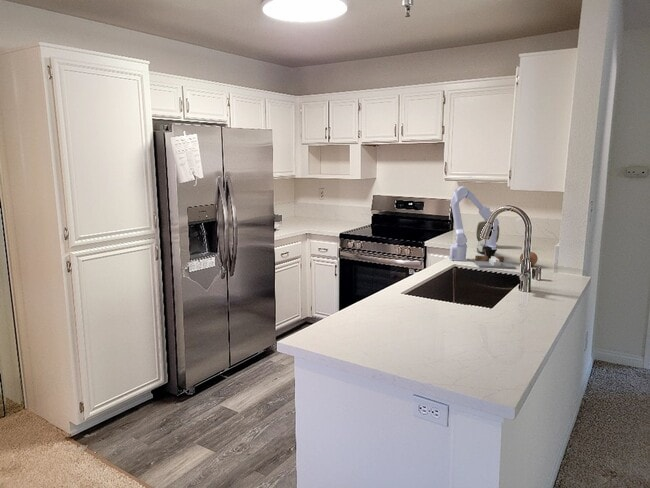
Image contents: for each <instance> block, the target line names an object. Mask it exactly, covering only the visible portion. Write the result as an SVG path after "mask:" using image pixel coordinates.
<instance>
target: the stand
mask: <svg viewBox="0 0 650 488" xmlns="http://www.w3.org/2000/svg"><path fill="white" fill-rule="evenodd" d="M473 262H474V264H475V265H476V266H477V267H478V268H481V269H503V270H504V269H505V270H507V269H508V270H516V268H517V267H516V266H515V265H514V264H513V263H511V262H507V261H506V262H505V261H504V262H500V261H499V259H497V258H496V257H495V255H494V256H491V259H489V262H487V261H475V260H474V261H473Z"/></svg>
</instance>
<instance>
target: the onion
mask: <svg viewBox="0 0 650 488" xmlns="http://www.w3.org/2000/svg"><path fill="white" fill-rule="evenodd" d="M538 258H539V257H538V255H537V254H536V253H535V252H534V251H530V262H531V267H534V266H535V265H537V262H538V260H539V259H538ZM522 259H523V252H522V253H521V255H520V256H519V261H520V262H521V260H522Z"/></svg>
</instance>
